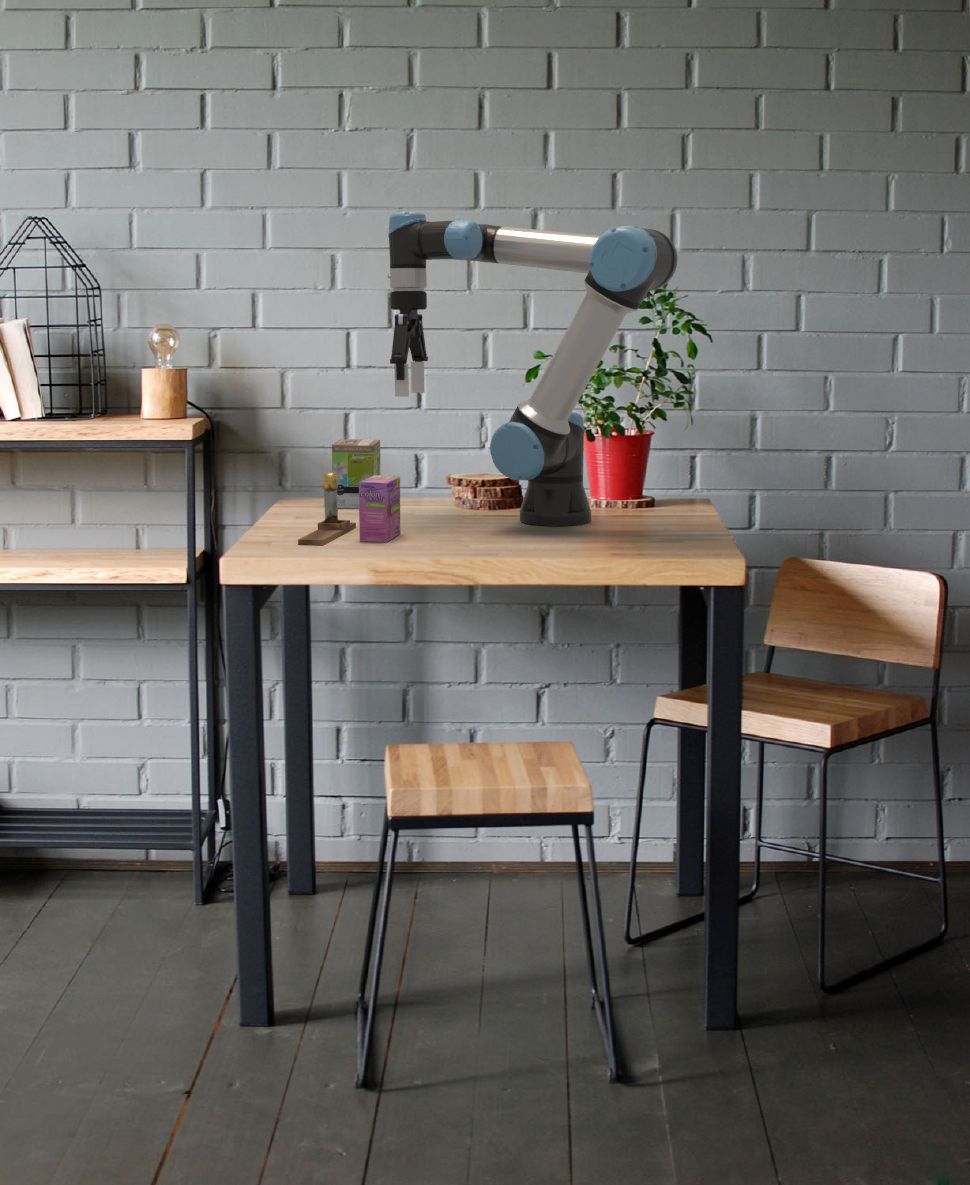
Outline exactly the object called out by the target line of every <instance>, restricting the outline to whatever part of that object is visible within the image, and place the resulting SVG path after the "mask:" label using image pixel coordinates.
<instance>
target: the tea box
mask: <svg viewBox="0 0 970 1185" xmlns="http://www.w3.org/2000/svg"><path fill="white" fill-rule="evenodd" d="M331 458H332V459H331V472H335V473H337V478H338V488H337V507H338V509H358V510H359V482H361V481H363V480H365V479H368V478H370V477H372V476H374V475H380V476H381V441H380V439H372V438H371V439H370V438H369V439H368V438H367V439H365V438H364V439H363V438H362V439H361V438H360V439H359V438H357V439H355V438H351V439H349V438H347V439H339V440H337V441H336V442H334V443H333V444H332V445H331Z"/></svg>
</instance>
